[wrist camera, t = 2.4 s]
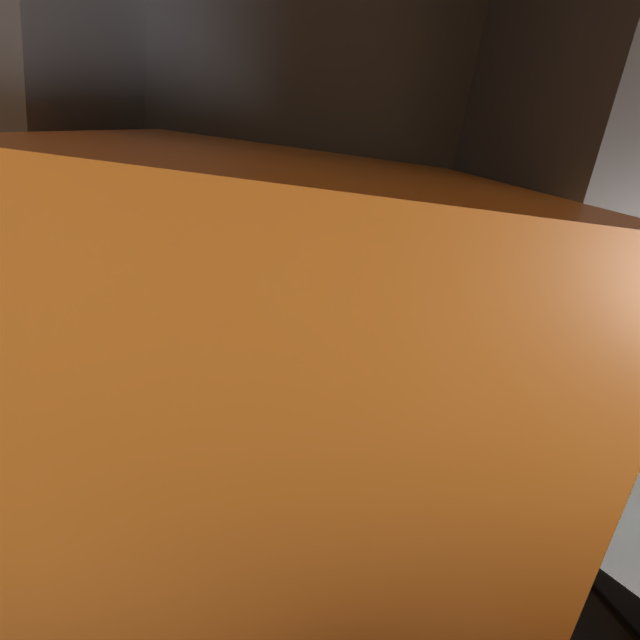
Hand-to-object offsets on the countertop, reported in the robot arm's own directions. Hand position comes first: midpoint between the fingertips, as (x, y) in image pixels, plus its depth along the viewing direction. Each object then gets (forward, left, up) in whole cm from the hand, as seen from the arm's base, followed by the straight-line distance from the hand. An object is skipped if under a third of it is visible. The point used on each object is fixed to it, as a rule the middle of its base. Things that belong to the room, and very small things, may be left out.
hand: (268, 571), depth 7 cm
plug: (-1, +1, -2) cm, 2 cm away
